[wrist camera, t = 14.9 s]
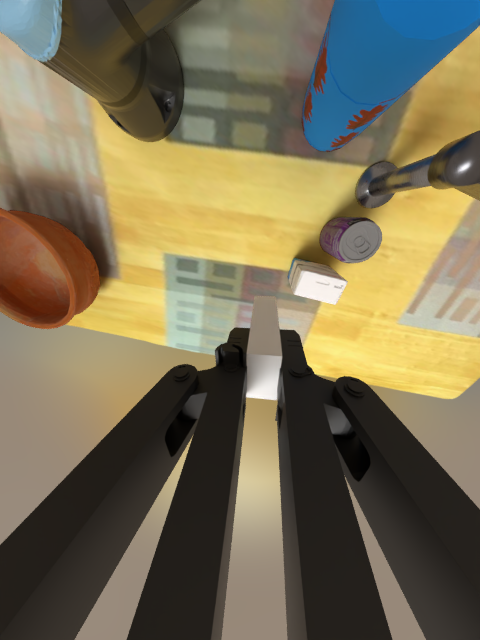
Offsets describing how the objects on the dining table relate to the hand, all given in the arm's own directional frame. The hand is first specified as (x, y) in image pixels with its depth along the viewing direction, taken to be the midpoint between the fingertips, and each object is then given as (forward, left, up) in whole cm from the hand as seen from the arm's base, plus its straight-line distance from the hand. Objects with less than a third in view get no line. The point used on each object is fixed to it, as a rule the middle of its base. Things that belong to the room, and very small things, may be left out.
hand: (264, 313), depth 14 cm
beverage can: (0, +15, -34) cm, 37 cm away
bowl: (-4, -50, -34) cm, 60 cm away
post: (-8, +21, -34) cm, 40 cm away
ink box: (+7, +9, -34) cm, 36 cm away
